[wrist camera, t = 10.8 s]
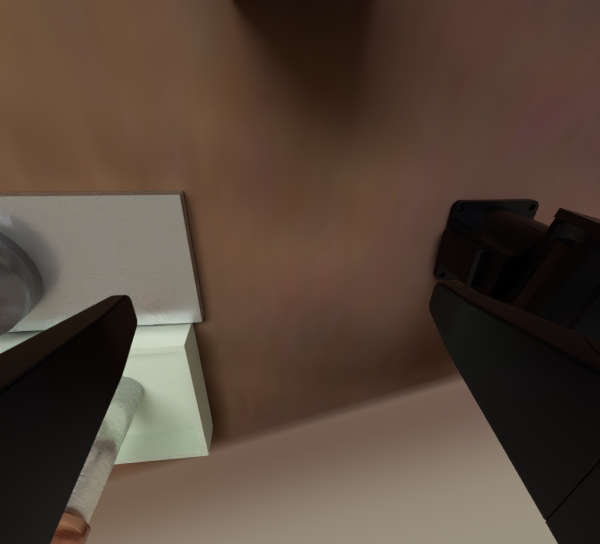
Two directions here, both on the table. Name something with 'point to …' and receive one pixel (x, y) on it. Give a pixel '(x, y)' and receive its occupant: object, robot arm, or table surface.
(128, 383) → the glass spice jar
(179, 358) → the tray
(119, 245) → the plate
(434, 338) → the table surface
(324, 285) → the table surface
